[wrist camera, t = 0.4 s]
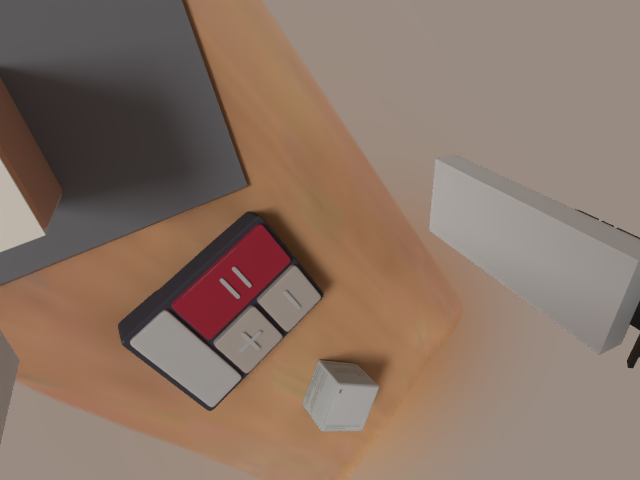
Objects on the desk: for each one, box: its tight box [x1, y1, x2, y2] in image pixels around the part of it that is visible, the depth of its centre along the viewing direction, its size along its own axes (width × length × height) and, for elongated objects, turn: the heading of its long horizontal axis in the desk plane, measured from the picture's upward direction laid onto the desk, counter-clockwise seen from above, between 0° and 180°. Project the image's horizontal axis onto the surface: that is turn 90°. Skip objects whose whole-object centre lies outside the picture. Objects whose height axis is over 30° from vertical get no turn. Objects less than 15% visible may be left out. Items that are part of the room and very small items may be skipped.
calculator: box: [118, 212, 323, 411], centre depth 38 cm, size 11×4×15 cm
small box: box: [302, 360, 379, 431], centre depth 46 cm, size 6×6×5 cm
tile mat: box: [0, 0, 248, 285], centre depth 30 cm, size 18×20×1 cm
